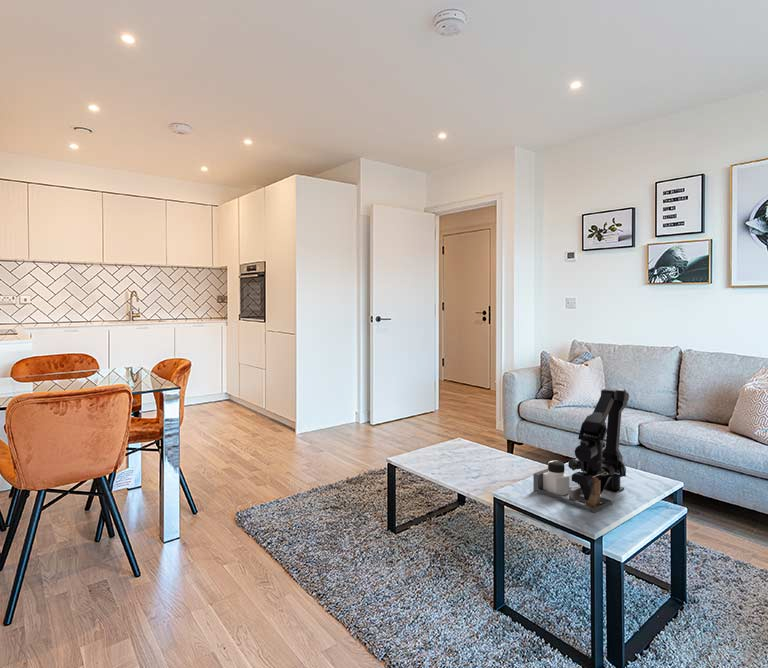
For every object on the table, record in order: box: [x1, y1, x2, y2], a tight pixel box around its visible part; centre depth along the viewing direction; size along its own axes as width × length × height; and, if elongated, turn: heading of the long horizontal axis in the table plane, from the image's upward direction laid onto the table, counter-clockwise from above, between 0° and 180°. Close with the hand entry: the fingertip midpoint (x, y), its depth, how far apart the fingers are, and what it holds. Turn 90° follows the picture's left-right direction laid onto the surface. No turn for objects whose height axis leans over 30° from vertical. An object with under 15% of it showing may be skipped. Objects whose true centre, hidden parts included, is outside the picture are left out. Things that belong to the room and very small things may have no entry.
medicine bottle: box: [543, 460, 571, 496], centre depth 190 cm, size 7×7×12 cm
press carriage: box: [568, 477, 601, 507], centre depth 180 cm, size 8×9×10 cm
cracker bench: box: [532, 468, 613, 514], centre depth 185 cm, size 12×26×7 cm, turn 36°
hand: (593, 497), depth 178 cm, fingers open, 8 cm apart
